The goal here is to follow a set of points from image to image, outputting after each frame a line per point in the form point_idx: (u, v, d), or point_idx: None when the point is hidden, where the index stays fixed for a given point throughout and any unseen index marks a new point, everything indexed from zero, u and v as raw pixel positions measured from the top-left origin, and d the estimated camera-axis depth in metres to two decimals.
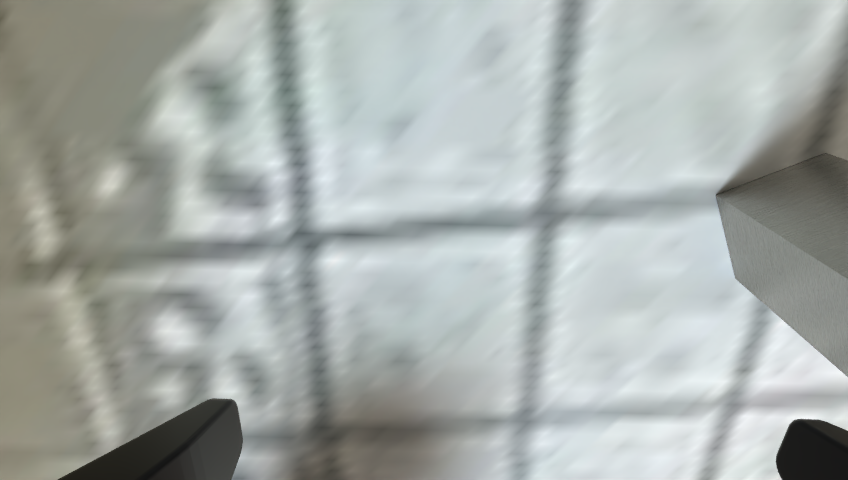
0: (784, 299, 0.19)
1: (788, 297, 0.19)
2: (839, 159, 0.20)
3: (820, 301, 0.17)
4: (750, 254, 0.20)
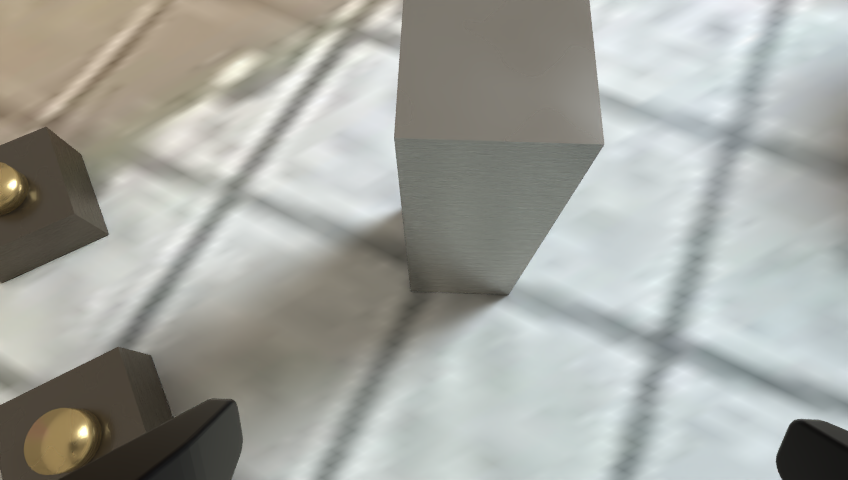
0: None
1: None
2: (412, 286, 0.22)
3: None
4: None
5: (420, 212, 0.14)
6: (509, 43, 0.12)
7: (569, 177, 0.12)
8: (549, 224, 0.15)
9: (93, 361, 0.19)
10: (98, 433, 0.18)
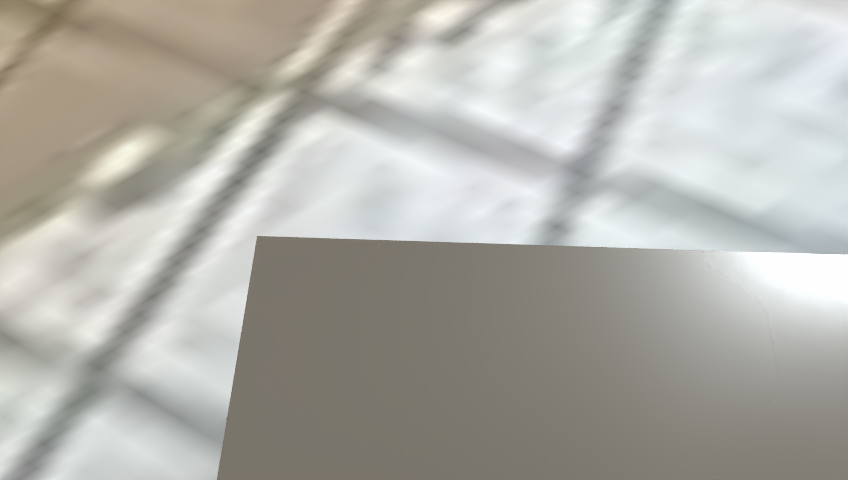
0: None
1: None
2: None
3: None
4: None
5: None
6: None
7: None
8: None
9: None
10: None
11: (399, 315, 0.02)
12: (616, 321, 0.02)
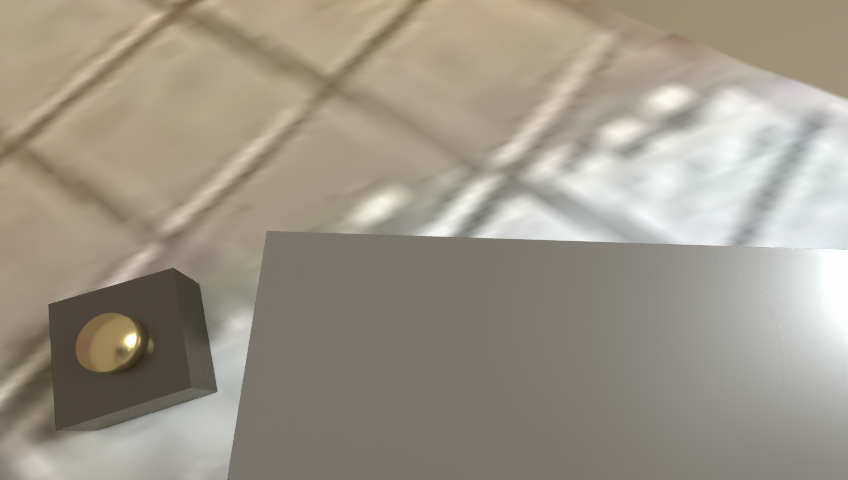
0: None
1: None
2: None
3: None
4: None
5: None
6: None
7: None
8: None
9: None
10: None
11: (408, 309, 0.02)
12: (623, 315, 0.02)
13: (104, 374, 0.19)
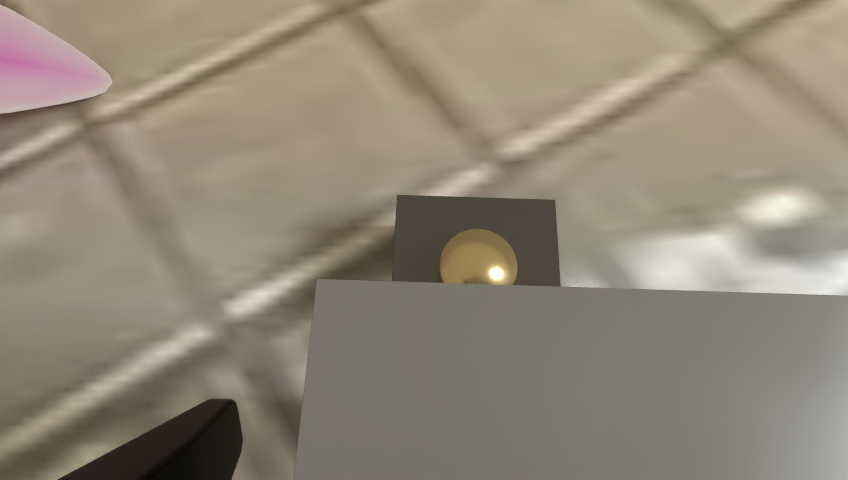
0: None
1: None
2: None
3: None
4: None
5: None
6: None
7: None
8: None
9: None
10: None
11: (407, 329, 0.04)
12: (541, 333, 0.04)
13: None
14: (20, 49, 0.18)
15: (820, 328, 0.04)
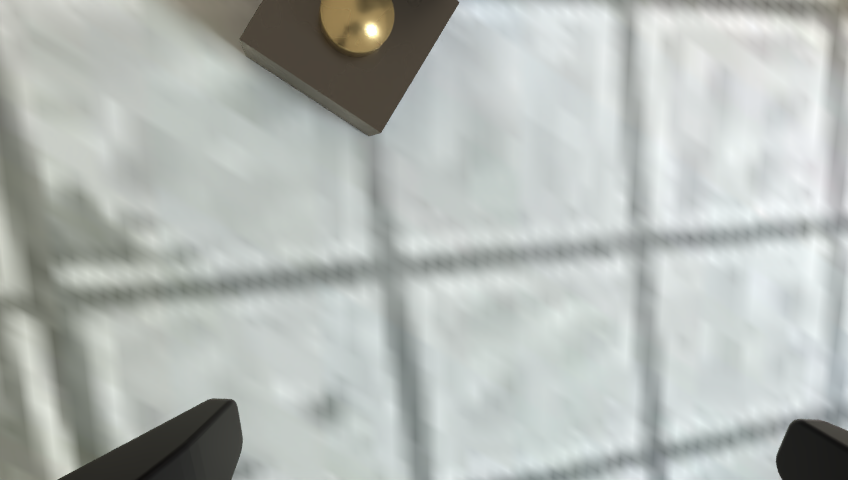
0: None
1: None
2: None
3: None
4: None
5: None
6: None
7: None
8: None
9: None
10: (379, 47, 0.16)
11: None
12: None
13: None
14: None
15: None
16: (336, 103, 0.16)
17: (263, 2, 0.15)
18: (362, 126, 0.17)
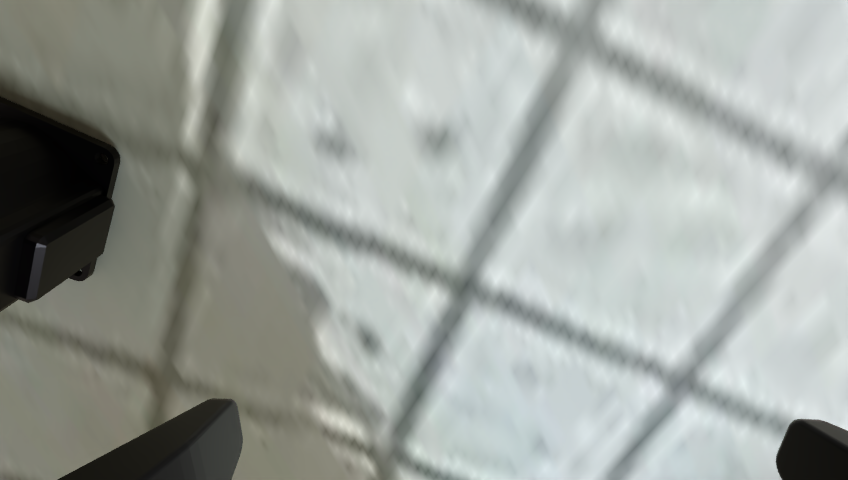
0: None
1: None
2: None
3: None
4: None
5: None
6: None
7: None
8: None
9: None
10: None
11: None
12: None
13: None
14: None
15: None
16: None
17: None
18: None
